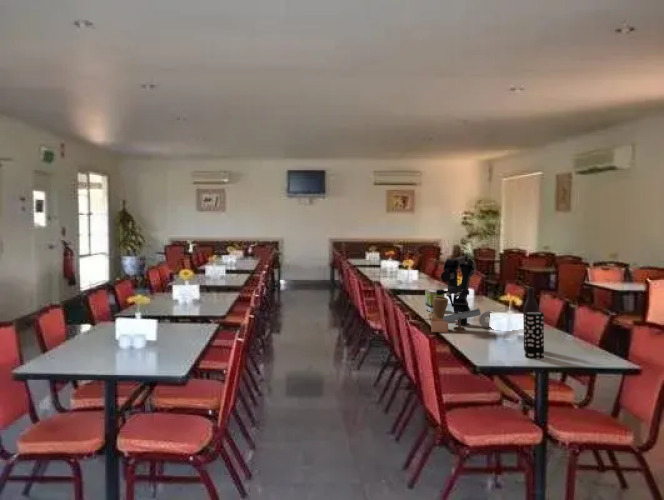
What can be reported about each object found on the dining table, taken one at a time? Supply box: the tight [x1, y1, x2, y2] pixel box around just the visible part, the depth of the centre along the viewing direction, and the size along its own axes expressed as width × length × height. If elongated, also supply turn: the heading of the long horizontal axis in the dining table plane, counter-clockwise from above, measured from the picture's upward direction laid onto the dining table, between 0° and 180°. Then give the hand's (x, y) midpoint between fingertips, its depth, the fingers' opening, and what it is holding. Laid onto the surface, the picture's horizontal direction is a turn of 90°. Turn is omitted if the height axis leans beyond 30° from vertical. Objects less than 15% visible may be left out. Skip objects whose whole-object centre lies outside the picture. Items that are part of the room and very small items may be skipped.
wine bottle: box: [522, 287, 540, 351], centre depth 320 cm, size 7×7×30 cm
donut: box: [478, 310, 493, 329], centre depth 390 cm, size 10×4×10 cm, turn 99°
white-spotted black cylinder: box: [524, 311, 545, 360], centre depth 305 cm, size 8×8×20 cm
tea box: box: [424, 288, 445, 313], centre depth 466 cm, size 15×10×15 cm
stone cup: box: [427, 296, 449, 320], centre depth 425 cm, size 15×12×15 cm
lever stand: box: [453, 318, 466, 334], centre depth 382 cm, size 6×15×8 cm, turn 172°
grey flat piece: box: [443, 307, 482, 323], centre depth 386 cm, size 21×16×3 cm
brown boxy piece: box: [430, 315, 449, 333], centre depth 384 cm, size 10×11×8 cm
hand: (452, 306), depth 392 cm, fingers closed
